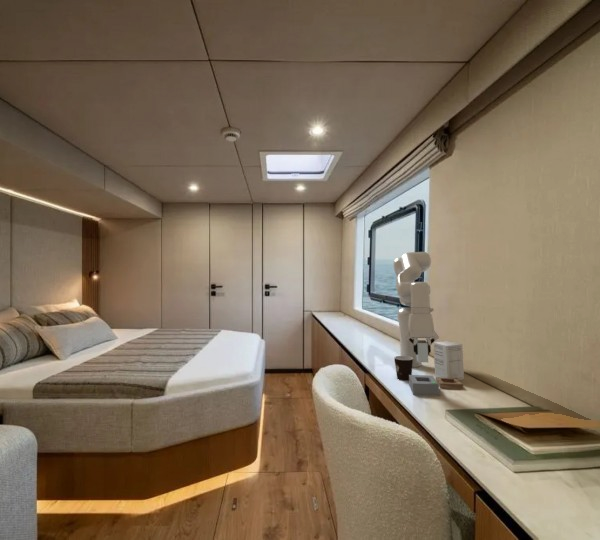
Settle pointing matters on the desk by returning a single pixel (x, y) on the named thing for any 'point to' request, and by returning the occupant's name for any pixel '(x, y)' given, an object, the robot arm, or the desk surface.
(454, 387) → the brown wooden square base
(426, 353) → the plug
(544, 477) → the desk surface
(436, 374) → the supplement box
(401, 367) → the coffee mug
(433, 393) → the port
